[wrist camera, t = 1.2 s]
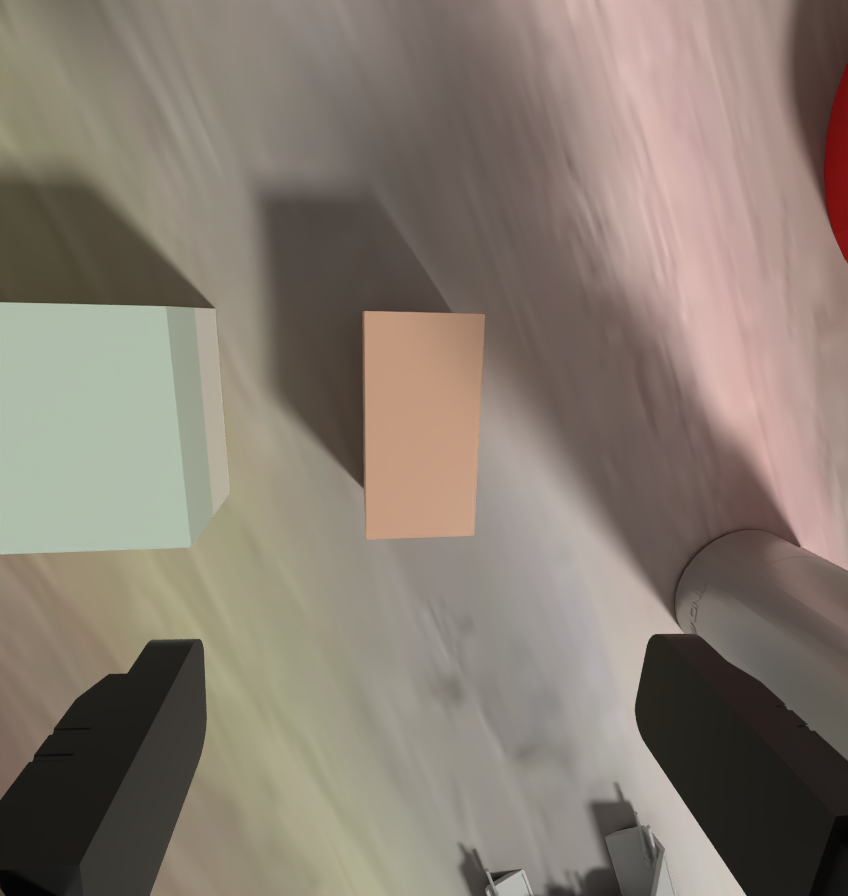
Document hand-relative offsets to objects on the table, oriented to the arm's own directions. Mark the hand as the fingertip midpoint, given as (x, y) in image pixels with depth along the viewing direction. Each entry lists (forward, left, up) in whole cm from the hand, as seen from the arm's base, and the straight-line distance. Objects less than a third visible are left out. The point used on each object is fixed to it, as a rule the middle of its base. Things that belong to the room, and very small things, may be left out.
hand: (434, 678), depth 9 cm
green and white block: (+15, -1, -20) cm, 26 cm away
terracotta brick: (-2, -1, -21) cm, 21 cm away
